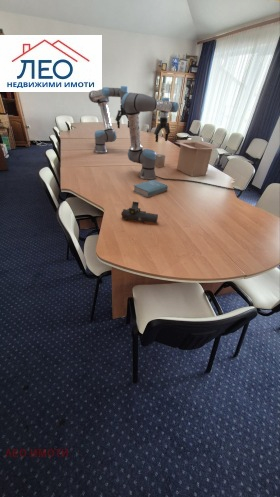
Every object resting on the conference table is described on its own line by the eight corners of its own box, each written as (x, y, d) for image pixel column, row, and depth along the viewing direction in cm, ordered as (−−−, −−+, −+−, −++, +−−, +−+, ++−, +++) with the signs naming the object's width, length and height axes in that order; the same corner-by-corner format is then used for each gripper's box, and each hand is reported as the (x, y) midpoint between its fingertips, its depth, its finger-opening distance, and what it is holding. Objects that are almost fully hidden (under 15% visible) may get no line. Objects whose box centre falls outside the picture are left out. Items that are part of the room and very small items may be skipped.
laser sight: (155, 227, 133) (157, 212, 127) (119, 221, 136) (119, 206, 130) (157, 219, 141) (159, 205, 135) (123, 214, 144) (124, 200, 138)
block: (158, 164, 243) (159, 153, 236) (164, 166, 238) (165, 155, 232) (153, 165, 238) (154, 154, 232) (158, 167, 233) (159, 156, 227)
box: (218, 176, 220) (226, 147, 203) (190, 180, 205) (196, 149, 189) (191, 164, 250) (196, 138, 234) (165, 167, 235) (168, 139, 219)
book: (152, 185, 190) (153, 179, 187) (167, 191, 181) (167, 185, 178) (133, 191, 176) (133, 185, 173) (147, 198, 167) (148, 191, 164)
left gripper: (131, 104, 236) (130, 126, 249) (111, 104, 222) (112, 127, 235) (135, 105, 232) (134, 127, 244) (116, 104, 218) (116, 129, 231)
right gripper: (170, 116, 220) (167, 139, 233) (151, 117, 207) (149, 141, 219) (175, 117, 216) (172, 141, 228) (157, 118, 202) (155, 143, 215)
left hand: (123, 128), depth 240 cm, fingers open, 13 cm apart
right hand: (161, 141), depth 224 cm, fingers open, 13 cm apart
